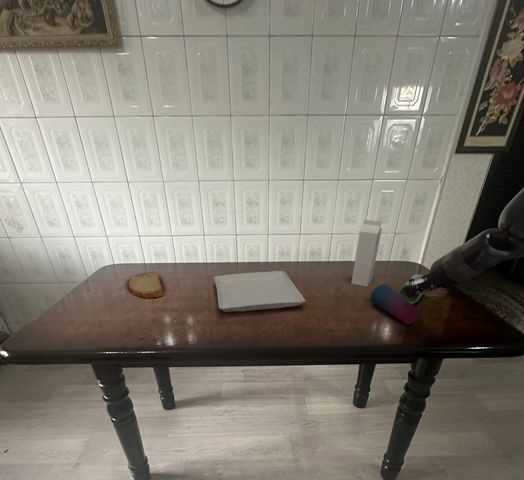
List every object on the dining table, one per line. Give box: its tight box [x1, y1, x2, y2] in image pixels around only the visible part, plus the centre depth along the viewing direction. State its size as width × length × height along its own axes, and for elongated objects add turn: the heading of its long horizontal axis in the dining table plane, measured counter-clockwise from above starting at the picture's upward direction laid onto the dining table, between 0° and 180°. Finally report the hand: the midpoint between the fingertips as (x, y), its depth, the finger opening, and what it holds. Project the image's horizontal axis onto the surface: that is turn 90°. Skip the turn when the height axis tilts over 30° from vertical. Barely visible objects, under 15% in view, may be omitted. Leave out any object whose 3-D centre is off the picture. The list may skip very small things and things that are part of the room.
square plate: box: [213, 270, 306, 313], centre depth 103 cm, size 27×27×4 cm
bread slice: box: [128, 271, 164, 299], centre depth 111 cm, size 18×18×4 cm
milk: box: [350, 219, 383, 288], centre depth 107 cm, size 6×6×22 cm
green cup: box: [397, 273, 425, 305], centre depth 100 cm, size 7×7×11 cm
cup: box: [370, 283, 420, 325], centre depth 91 cm, size 7×7×15 cm
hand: (409, 294), depth 84 cm, fingers closed
